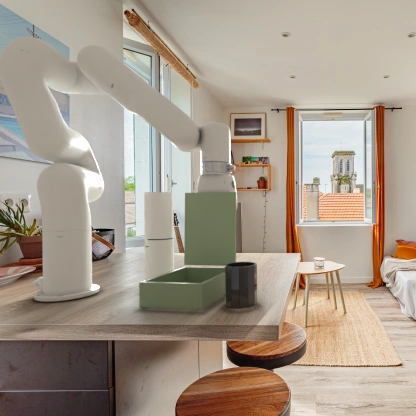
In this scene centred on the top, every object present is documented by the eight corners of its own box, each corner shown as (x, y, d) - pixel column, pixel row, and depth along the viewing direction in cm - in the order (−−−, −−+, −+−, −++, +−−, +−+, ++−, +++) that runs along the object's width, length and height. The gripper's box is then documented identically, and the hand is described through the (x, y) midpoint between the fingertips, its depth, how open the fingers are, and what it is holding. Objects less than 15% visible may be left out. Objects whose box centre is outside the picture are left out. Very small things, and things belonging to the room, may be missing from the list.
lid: (235, 192, 82) (236, 192, 82) (184, 192, 84) (186, 193, 84) (234, 265, 81) (236, 265, 82) (184, 264, 83) (185, 264, 84)
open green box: (202, 313, 64) (201, 284, 64) (139, 310, 66) (139, 282, 66) (235, 290, 82) (235, 267, 82) (185, 288, 84) (184, 266, 84)
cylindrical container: (162, 288, 84) (162, 191, 84) (138, 287, 85) (138, 192, 85) (179, 282, 91) (178, 193, 91) (156, 281, 92) (156, 193, 92)
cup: (220, 311, 65) (219, 266, 65) (232, 302, 72) (232, 261, 72) (250, 312, 64) (250, 267, 64) (260, 303, 71) (260, 261, 71)
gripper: (247, 171, 89) (248, 238, 89) (196, 172, 91) (196, 237, 91) (237, 167, 82) (238, 241, 82) (182, 169, 84) (182, 240, 84)
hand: (216, 239), depth 86 cm, fingers closed
